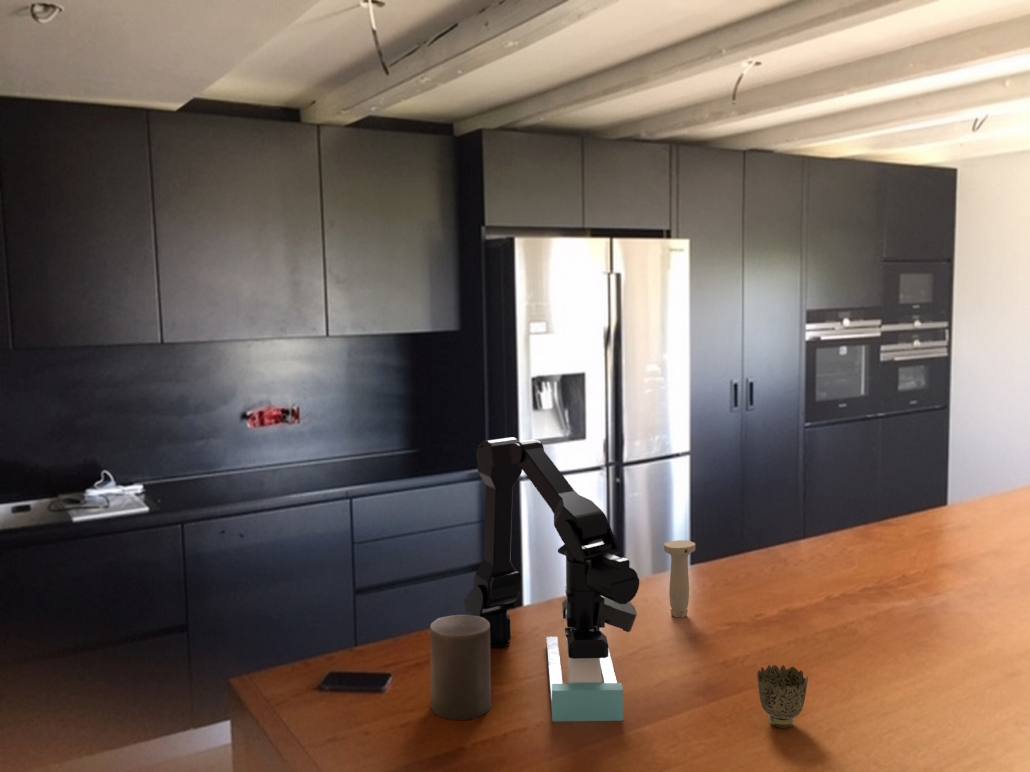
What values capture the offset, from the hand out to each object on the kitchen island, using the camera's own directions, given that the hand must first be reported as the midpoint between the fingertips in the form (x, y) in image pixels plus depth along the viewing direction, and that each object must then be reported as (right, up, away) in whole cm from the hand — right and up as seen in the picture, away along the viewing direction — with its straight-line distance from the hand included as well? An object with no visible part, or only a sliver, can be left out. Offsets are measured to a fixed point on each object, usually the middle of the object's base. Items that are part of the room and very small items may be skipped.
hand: (584, 675), depth 147 cm
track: (0, -3, +5) cm, 6 cm away
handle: (+22, +1, +34) cm, 41 cm away
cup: (+29, -4, -10) cm, 32 cm away
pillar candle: (-20, -4, -3) cm, 21 cm away
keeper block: (0, -2, -2) cm, 3 cm away
